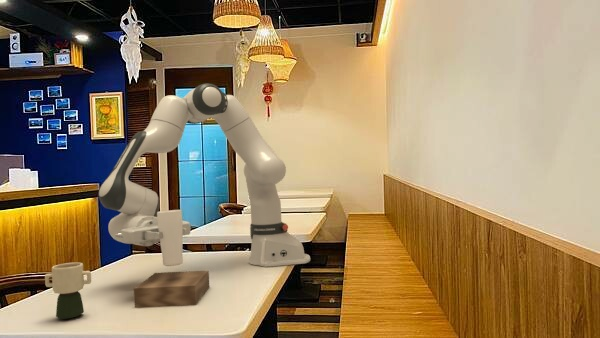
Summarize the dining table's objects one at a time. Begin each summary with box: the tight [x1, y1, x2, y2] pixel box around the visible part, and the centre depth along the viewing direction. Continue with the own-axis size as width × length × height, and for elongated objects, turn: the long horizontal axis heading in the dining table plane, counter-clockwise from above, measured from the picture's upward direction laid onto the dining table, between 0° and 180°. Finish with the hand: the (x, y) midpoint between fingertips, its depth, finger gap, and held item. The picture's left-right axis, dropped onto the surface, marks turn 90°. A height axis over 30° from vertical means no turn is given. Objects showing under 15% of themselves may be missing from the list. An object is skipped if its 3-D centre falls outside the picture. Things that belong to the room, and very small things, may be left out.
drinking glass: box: [156, 209, 184, 267], centre depth 136 cm, size 7×7×15 cm
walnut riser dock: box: [133, 269, 210, 308], centre depth 136 cm, size 16×18×5 cm
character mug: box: [44, 262, 92, 320], centre depth 122 cm, size 11×7×13 cm, turn 97°
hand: (172, 233), depth 136 cm, fingers closed on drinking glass, 6 cm apart
